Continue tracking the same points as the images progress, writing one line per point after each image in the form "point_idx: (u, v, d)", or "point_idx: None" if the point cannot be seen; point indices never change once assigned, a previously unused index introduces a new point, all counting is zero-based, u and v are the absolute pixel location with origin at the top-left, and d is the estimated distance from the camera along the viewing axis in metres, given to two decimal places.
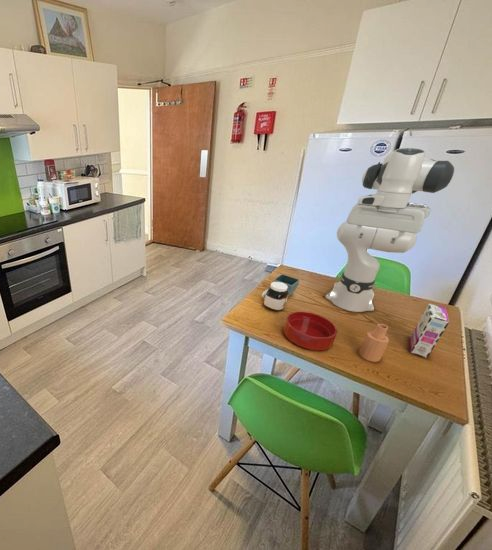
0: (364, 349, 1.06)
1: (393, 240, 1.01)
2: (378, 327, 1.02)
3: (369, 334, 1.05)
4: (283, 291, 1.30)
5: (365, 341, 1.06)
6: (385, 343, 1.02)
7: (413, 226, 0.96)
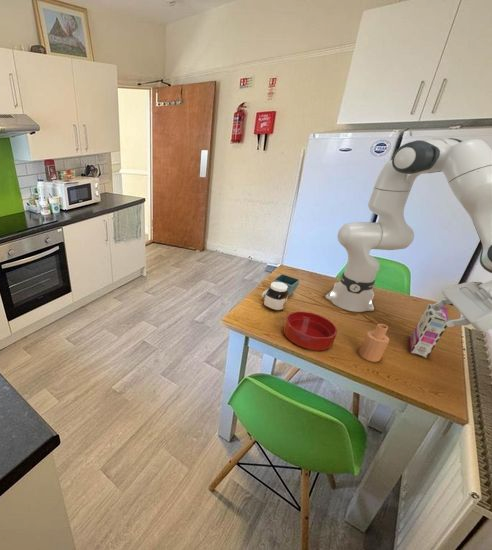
0: (364, 349, 1.06)
1: None
2: (378, 327, 1.02)
3: (369, 334, 1.05)
4: (283, 291, 1.30)
5: (365, 341, 1.06)
6: (385, 343, 1.02)
7: None
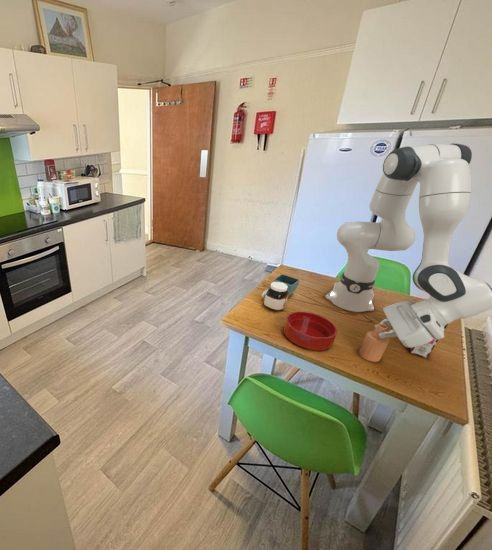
0: (364, 349, 1.06)
1: None
2: (378, 327, 1.02)
3: (369, 334, 1.05)
4: (283, 291, 1.30)
5: (365, 341, 1.06)
6: (385, 343, 1.02)
7: None
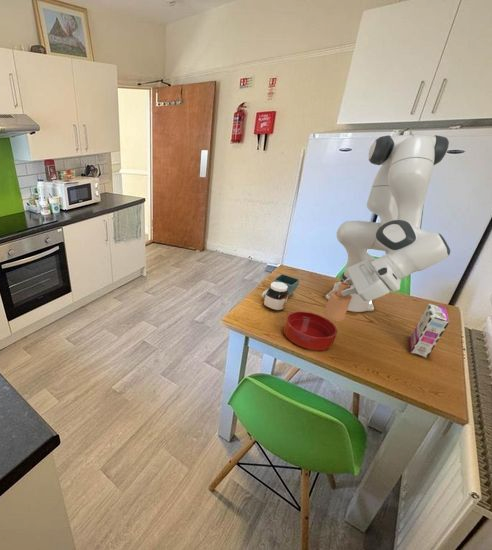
0: (328, 308, 1.08)
1: None
2: (340, 285, 1.03)
3: (332, 293, 1.06)
4: (283, 291, 1.30)
5: (329, 300, 1.07)
6: (347, 301, 1.03)
7: None
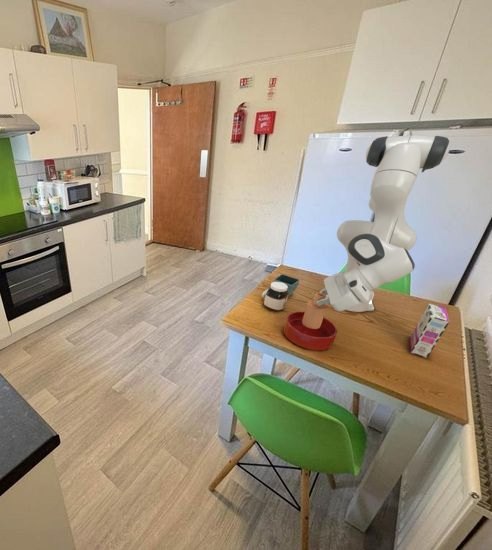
0: (305, 317, 1.13)
1: None
2: (316, 295, 1.09)
3: (309, 303, 1.12)
4: (283, 291, 1.30)
5: (306, 310, 1.13)
6: (322, 310, 1.09)
7: None
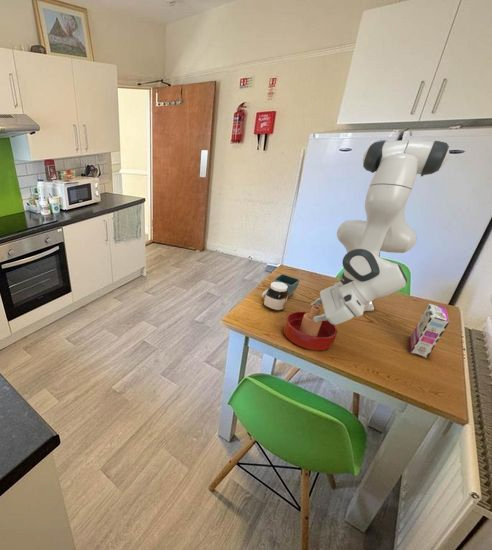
0: (302, 329, 1.16)
1: None
2: (312, 308, 1.12)
3: (305, 315, 1.15)
4: (283, 291, 1.30)
5: (302, 322, 1.16)
6: (318, 323, 1.11)
7: None
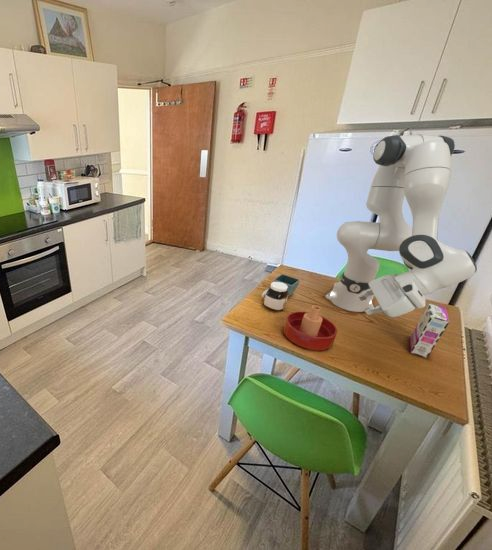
0: (302, 329, 1.16)
1: None
2: (312, 308, 1.12)
3: (305, 315, 1.15)
4: (283, 291, 1.30)
5: (302, 322, 1.16)
6: (318, 323, 1.11)
7: None
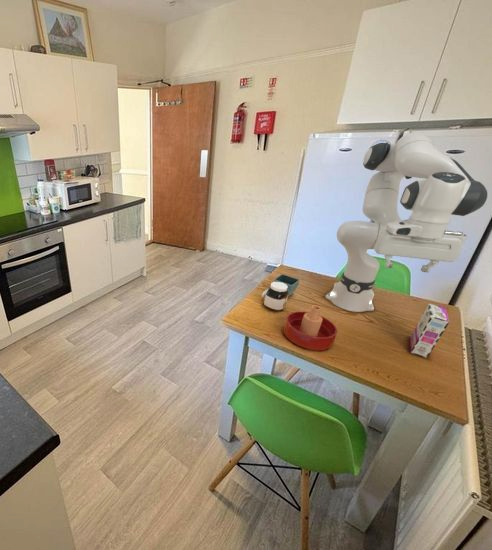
0: (302, 329, 1.16)
1: (426, 269, 0.94)
2: (312, 308, 1.12)
3: (305, 315, 1.15)
4: (283, 291, 1.30)
5: (302, 322, 1.16)
6: (318, 323, 1.11)
7: (450, 255, 0.89)
